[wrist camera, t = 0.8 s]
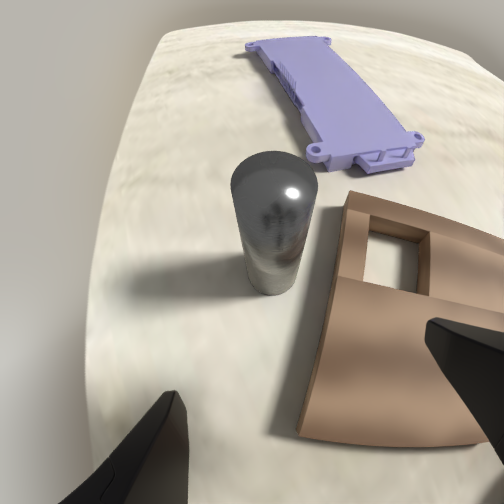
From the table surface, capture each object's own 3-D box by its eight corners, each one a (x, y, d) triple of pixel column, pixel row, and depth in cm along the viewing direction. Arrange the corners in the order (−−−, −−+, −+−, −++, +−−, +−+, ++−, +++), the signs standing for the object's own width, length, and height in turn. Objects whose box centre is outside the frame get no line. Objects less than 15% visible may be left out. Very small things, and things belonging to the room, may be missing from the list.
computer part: (314, 190, 27) (427, 169, 28) (320, 162, 24) (441, 145, 24) (244, 55, 39) (326, 48, 40) (242, 34, 36) (328, 28, 36)
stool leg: (290, 300, 23) (309, 229, 12) (242, 288, 23) (218, 209, 12) (301, 255, 24) (323, 159, 13) (255, 245, 25) (244, 145, 14)
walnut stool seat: (486, 437, 15) (501, 439, 13) (295, 429, 19) (298, 436, 16) (500, 252, 23) (513, 243, 21) (343, 205, 26) (349, 190, 24)
